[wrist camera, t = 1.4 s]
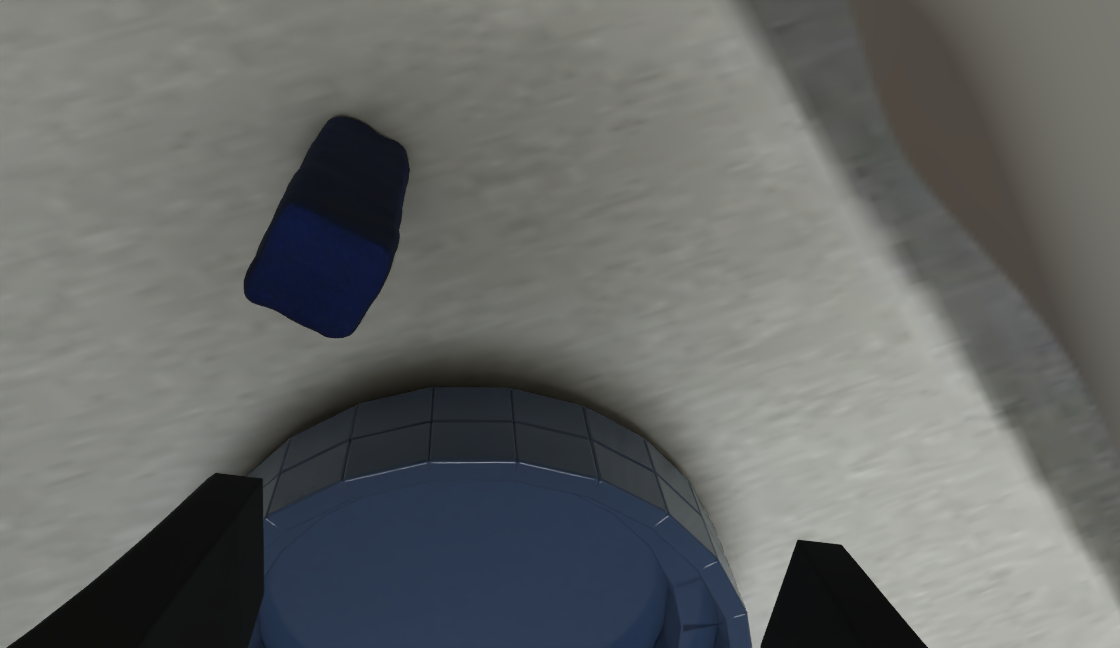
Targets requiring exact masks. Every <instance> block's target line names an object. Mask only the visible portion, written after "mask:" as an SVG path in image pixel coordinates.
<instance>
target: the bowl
mask: <svg viewBox="0 0 1120 648" xmlns="http://www.w3.org/2000/svg"><path fill="white" fill-rule="evenodd" d="M247 477H256V478H263V530H264V596H263V599H262V603H261V606H260V609H259V613H258V616H257V620H256V623H255V626H254V630H253V633H252V636H251V640H250V643H249V646H248V648H752V642H751V635H750V628H749V622H748V615H747V611H746V608H745V605H744V603H743V600H742V598H741V595H740V592H739V590H738V587H737V585H736V582H735V579H734V577H733V574H732V572H731V569H730V567H729V564H728V561H727V559H726V556H725V553H724V551H723V548H722V546H721V543H720V541H719V538H718V535H717V533H716V530H715V528H714V526H713V524H712V522H711V520H710V519H709V517H708V515H707V513H706V511H705V509H704V507H703V506H702V504H701V502H700V500H699V498H698V496H697V494H696V493H695V491H694V489H693V487H692V485H691V483H690V482H689V481H688V480H687V479H686V478H685V477H684V476H683V475H682V474H681V473H680V472H679V471H678V470H677V469H676V468H675V467H674V466H673V465H672V464H671V463H670V462H669V461H668V460H667V459H666V458H665V457H664V456H663V455H661V454H660V453H659V452H658V451H657V450H656V449H655V448H654V447H653V446H652V445H651V444H650V443H649V442H648V441H647V440H645V439H643V438H642V436H640V435H638V434H636V433H634V432H632V431H630V430H628V429H627V428H625V427H623V426H621V425H619V424H617V423H615V422H613V421H611V420H610V419H608V418H606V417H604V416H602V415H600V414H598V413H596V412H594V411H593V410H591V409H589V408H587V407H582V406H581V405H579V404H575V403H571V402H567V401H563V400H559V399H555V398H551V397H546V396H542V395H538V394H534V393H530V392H526V391H522V390H518V389H510V388H496V387H435V388H433V387H430V388H425V389H421V390H416V391H412V392H407V393H403V394H399V395H394V396H390V397H385V398H381V399H376V400H372V401H367V402H363V403H359V404H358V406H357V405H356V406H353V407H351V408H349V409H347V410H345V411H343V412H341V413H339V414H337V415H335V416H333V417H331V418H329V419H327V420H325V421H323V422H321V423H319V424H317V425H315V426H313V427H311V428H309V429H307V430H305V431H303V432H301V433H299V434H297V435H295V436H293V437H292V438H290V439H288V440H287V441H286V442H285V443H284V444H283V445H282V446H280V447H279V448H278V449H277V450H276V451H275V452H274V453H272V454H271V455H270V456H269V457H268V458H267V459H266V460H265V461H263V462H262V463H261V464H260V465H259V466H258V467H257V468H255V469H254V470H253V471H252V472H251V473H250V474H249V475H248V476H247Z"/></svg>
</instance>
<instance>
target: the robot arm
mask: <svg viewBox="0 0 1120 648" xmlns="http://www.w3.org/2000/svg"><path fill="white" fill-rule="evenodd" d="M263 596H264V530H263V478H256V477H247V476H238V475H229V474H221V473H215V474H214V475H212V476H211V477H209V478H208V479H207V480H206V481H205V482H204V483H202V484H201V485H200V486H199V487H198V488H197V489H196V490H195V491H194V492H193V493H192V494H191V495H190V496H189V497H187V498H186V499H185V500H184V501H183V502H182V503H181V504H180V505H179V506H178V507H177V508H176V509H175V510H174V511H172V512H171V513H170V514H169V515H168V516H167V517H166V518H165V519H164V520H163V521H162V522H160V523H159V524H158V525H157V526H156V527H155V528H154V529H153V530H152V531H150V532H149V533H148V534H147V535H146V536H145V537H144V538H143V539H142V540H140V541H139V542H138V543H137V544H136V545H135V546H134V547H132V548H131V549H130V550H129V551H128V552H127V553H125V554H124V555H123V556H122V557H121V558H120V559H118V560H117V561H116V562H115V563H114V564H113V565H111V566H110V567H109V568H108V569H107V570H106V571H104V572H103V573H102V574H101V575H100V576H99V577H97V578H96V579H95V580H94V581H93V582H91V583H90V584H89V585H88V586H86V587H85V588H84V589H83V590H81V591H80V592H79V593H78V594H76V595H75V596H74V597H73V598H71V599H70V600H69V601H67V602H66V603H65V604H64V605H62V606H61V607H60V608H58V609H57V610H56V611H55V612H53V613H52V614H51V615H49V616H48V617H47V618H46V619H44V620H43V621H42V622H40V623H39V624H38V625H37V626H35V627H34V628H33V629H31V630H30V631H29V632H27V633H26V634H25V635H23V636H22V637H21V638H19V639H18V640H16V641H15V642H14V643H12V644H11V645H9V646H8V647H7V648H248V646H249V643H250V640H251V636H252V633H253V630H254V626H255V623H256V620H257V616H258V613H259V609H260V606H261V603H262V599H263ZM761 648H928V647H927V646H926V645H925V644H924V643H923V642H922V640H921V639H920V638H919V637H918V636H917V634H916V633H915V632H914V631H913V630H912V629H911V627H910V626H909V625H908V624H907V623H906V621H905V620H904V619H903V618H902V617H901V615H900V614H899V613H898V612H897V611H896V609H895V608H894V607H893V606H892V605H891V603H890V602H889V601H888V600H887V599H886V597H885V596H884V595H883V594H882V593H881V591H880V590H879V589H878V588H877V587H876V585H875V584H874V583H873V582H872V581H871V579H870V578H869V577H868V576H867V574H866V573H865V572H864V571H863V570H862V568H861V567H860V566H859V565H858V564H857V562H856V561H855V560H854V559H853V558H852V557H851V555H850V554H849V553H848V552H847V551H846V550H845V548H844V547H843V546H842V545H839V544H831V543H822V542H813V541H804V540H797V543H796V546H795V549H794V552H793V554H792V557H791V560H790V563H789V566H788V569H787V572H786V574H785V577H784V580H783V583H782V586H781V589H780V592H779V595H778V597H777V600H776V603H775V606H774V609H773V612H772V615H771V617H770V620H769V623H768V626H767V629H766V632H765V635H764V637H763V640H762V643H761Z"/></svg>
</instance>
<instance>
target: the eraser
mask: <svg viewBox="0 0 1120 648" xmlns="http://www.w3.org/2000/svg"><path fill="white" fill-rule="evenodd" d="M409 171H410V168H409V163H408V157H407V153H406V151H405V149H404V148H403V146H402V145H400V144H399V143H398V142H396V141H394V140H391V139H388V138H386V137H384V136H382V135H380V134H379V133H377V132H376V131H375V130H374V129H372V128H371V127H370V126H368V125H367V124H365V123H363V122H361V121H359V120H356V119H353V118H349V117H334V118H332V119H330V120H329V121H328V122H327V123H326V124H325V126H324V127H323V128H322V130H321V131H320V133H319V135H318V136H317V138H316V139H315V141H314V142H313V143H312V144H311V146H310V148H309V150H308V152H307V154H306V156H305V158H304V160H303V163H302V165H301V167H300V169H299V170H298V171H297V172H296V173H295V175H294V176H293V178H292V179H291V181H290V183H289V185H288V187H287V189H286V192H285V194H284V196H283V198H282V199H281V201H280V203H279V205H278V207H277V210H276V212H275V214H274V217H273V219H272V221H271V223H270V225H269V227H268V229H267V231H266V233H265V235H264V237H263V239H262V241H261V243H260V245H259V248H258V250H257V253H256V256H255V258H254V259H253V261H252V263H251V264H250V266H249V268H248V270H247V273H246V275H245V278H244V293H245V296H246V298H247V299H248V300H249V301H251V302H252V303H255V304H257V305H260V306H264V307H267V308H270V309H273V310H275V311H277V312H279V313H281V314H282V315H284V316H286V317H287V318H289V319H291V320H292V321H294V322H296V323H298V324H300V325H302V326H304V327H307V328H309V329H312V330H314V331H316V332H318V333H320V334H321V335H323V336H325V337H329V338H344V337H347V336H350V335H351V334H352V333H353V332H354V331H355V330H356V328H357V327H358V325H359V324H360V323H361V321H362V319H363V317H364V316H365V314H366V312H367V310H368V309H369V307H370V306H371V304H372V303H373V301H374V300H375V299H376V297H377V296H378V294H379V293H380V291H381V289H382V287H383V285H384V283H385V281H386V279H387V277H388V274H389V272H390V269H391V266H392V262H393V259H394V256H395V253H396V251H397V248H398V244H399V239H400V234H399V228H400V224H401V218H402V207H403V201H404V196H405V191H406V187H407V184H408V179H409Z"/></svg>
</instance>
